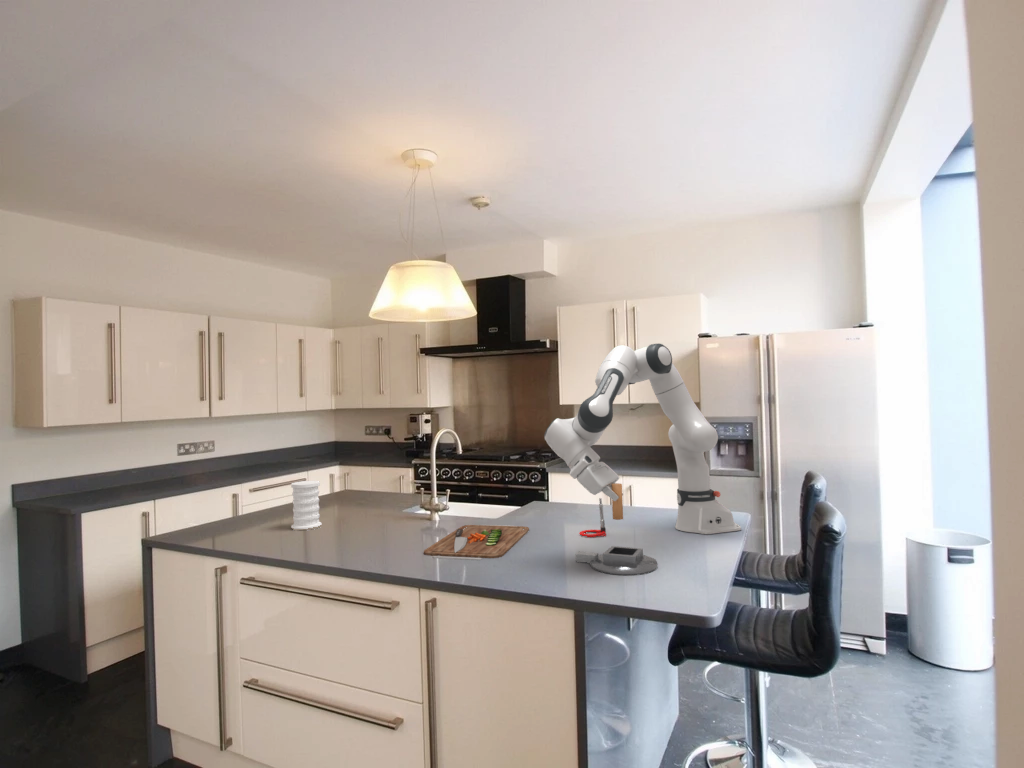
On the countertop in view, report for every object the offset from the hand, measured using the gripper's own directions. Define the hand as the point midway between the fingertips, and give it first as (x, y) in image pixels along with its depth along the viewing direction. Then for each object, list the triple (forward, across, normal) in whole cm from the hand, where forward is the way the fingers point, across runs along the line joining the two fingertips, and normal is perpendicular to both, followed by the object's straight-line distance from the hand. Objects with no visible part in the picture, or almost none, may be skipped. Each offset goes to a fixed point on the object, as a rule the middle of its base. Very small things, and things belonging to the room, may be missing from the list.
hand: (619, 498), depth 168 cm
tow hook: (0, -32, -27) cm, 43 cm away
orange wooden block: (+4, 0, -5) cm, 6 cm away
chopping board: (-23, -12, -52) cm, 58 cm away
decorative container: (-79, -9, -107) cm, 133 cm away
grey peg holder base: (+13, 0, -15) cm, 19 cm away
